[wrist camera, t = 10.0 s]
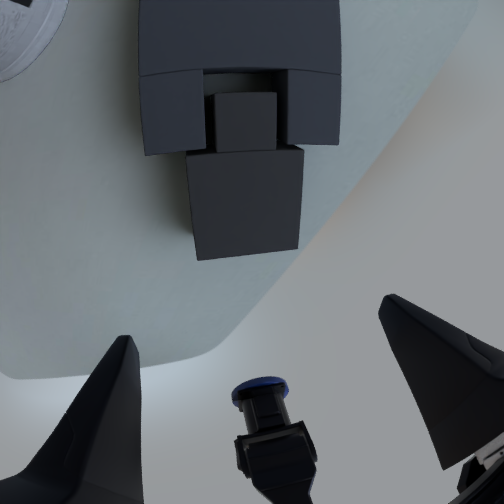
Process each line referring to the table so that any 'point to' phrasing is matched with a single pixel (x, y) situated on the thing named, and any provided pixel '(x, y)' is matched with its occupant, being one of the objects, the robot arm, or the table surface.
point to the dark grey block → (238, 65)
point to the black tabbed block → (244, 181)
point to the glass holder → (26, 32)
